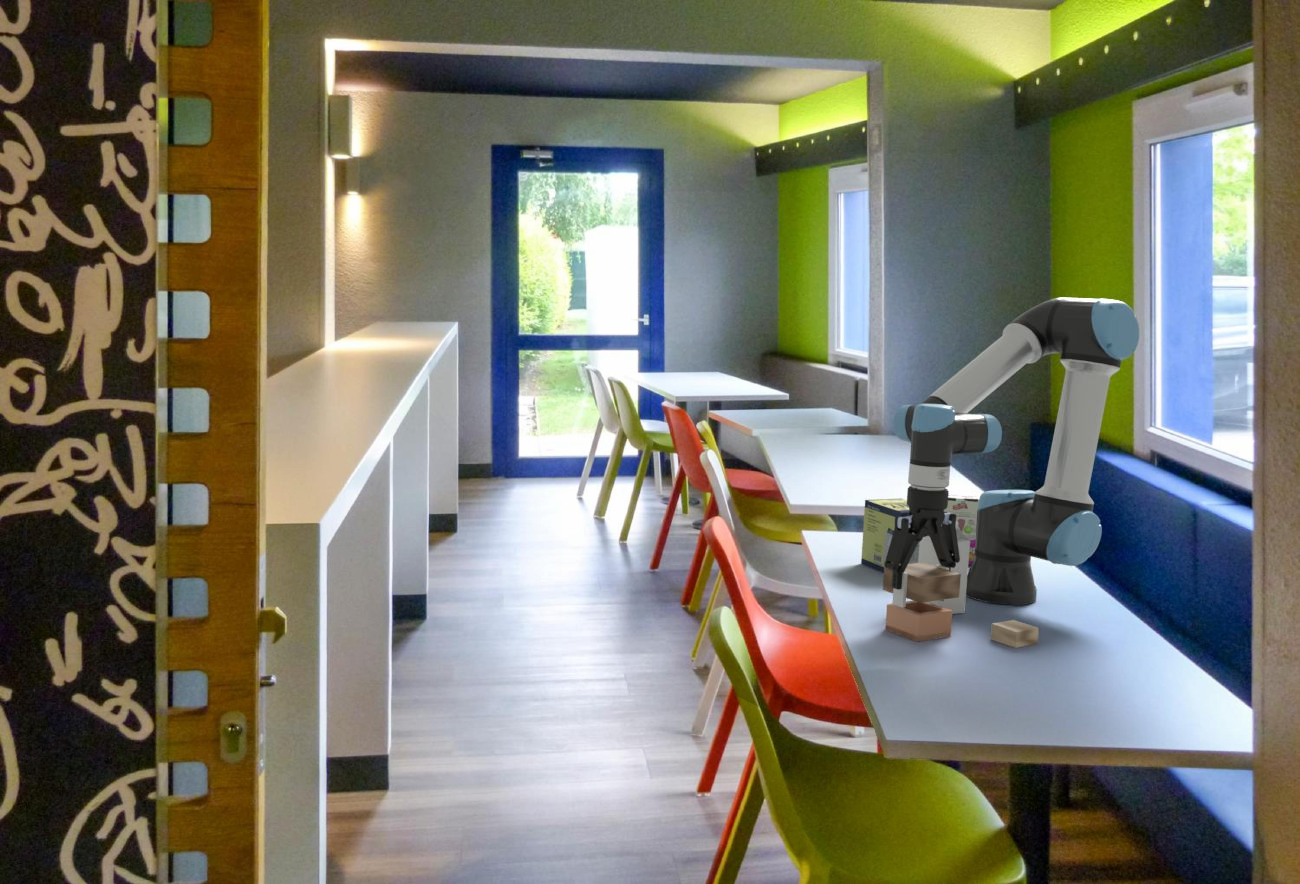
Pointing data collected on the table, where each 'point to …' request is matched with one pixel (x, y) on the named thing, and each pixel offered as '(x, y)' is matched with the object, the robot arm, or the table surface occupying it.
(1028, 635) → the stand
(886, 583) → the brown box
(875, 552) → the protein box
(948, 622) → the open square box
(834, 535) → the table surface
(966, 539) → the milk carton
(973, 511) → the candy bar box
